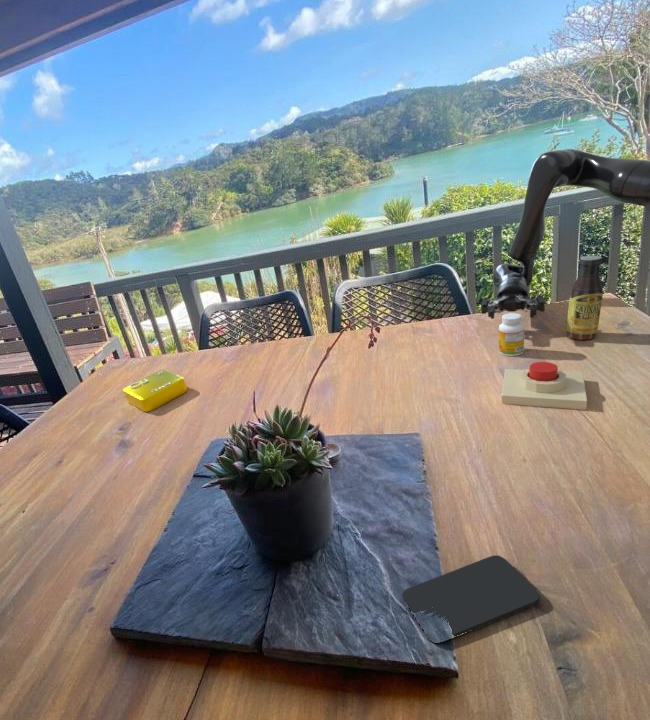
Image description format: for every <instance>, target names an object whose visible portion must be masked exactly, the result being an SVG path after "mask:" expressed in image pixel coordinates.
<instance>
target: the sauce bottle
mask: <svg viewBox="0 0 650 720" xmlns="http://www.w3.org/2000/svg"><path fill="white" fill-rule="evenodd" d="M602 259H603V257H602V256H600V255H585V256H581V257H580V259H579V262H578V264H579V272H578V277H577V278H576V279H575V280H574V282H573V284H572V285H571V288H570V295H569V300H568V301H569V302H568V310H567V317H566V318H567V319H566V326H565V330H566V332H565V333H566V337H567V338H569V339H571V340H575V341H576V340H577V341H587V340H588V341H589V340H592V339H595V338H596V336H597V332H598V330H599V323H600V317H601V309H602V303H603V302H602V301H603V295H604V289H603V287H604V285H603V281H602V279H601V277H600V269H601V264H602V262H603V261H602Z"/></svg>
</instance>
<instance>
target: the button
mask: <svg viewBox="0 0 650 720" xmlns="http://www.w3.org/2000/svg"><path fill="white" fill-rule="evenodd" d="M528 368H529V378H531V379H533V380H536V381H544V382H548V381H554V380H556V379H557V371H558V369H559V367H558V365H556V364H555V363H552V362H550V361H549V362H548V361H537V362H533V363H530V365H529V367H528Z"/></svg>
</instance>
